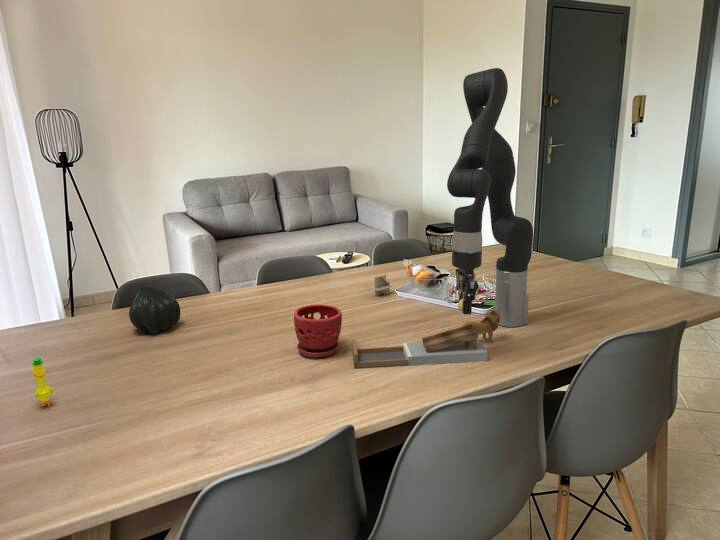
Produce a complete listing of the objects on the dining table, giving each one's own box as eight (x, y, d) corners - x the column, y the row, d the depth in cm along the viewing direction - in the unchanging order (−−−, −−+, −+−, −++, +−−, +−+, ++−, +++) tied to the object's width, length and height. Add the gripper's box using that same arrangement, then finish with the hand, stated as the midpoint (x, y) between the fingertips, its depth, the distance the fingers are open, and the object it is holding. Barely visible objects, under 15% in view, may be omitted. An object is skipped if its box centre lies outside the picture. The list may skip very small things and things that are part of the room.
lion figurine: (492, 334, 160) (493, 305, 158) (504, 340, 156) (505, 310, 153) (451, 344, 154) (451, 314, 152) (462, 351, 149) (463, 320, 147)
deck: (477, 347, 152) (477, 339, 151) (487, 360, 143) (487, 352, 142) (403, 351, 150) (402, 343, 150) (408, 365, 142) (407, 356, 141)
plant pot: (306, 365, 144) (304, 322, 141) (289, 348, 155) (286, 308, 152) (351, 354, 150) (349, 313, 146) (331, 338, 161) (329, 300, 158)
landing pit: (403, 351, 150) (402, 338, 149) (408, 365, 142) (407, 351, 141) (352, 354, 149) (351, 340, 148) (354, 368, 141) (353, 354, 140)
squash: (192, 313, 171) (170, 274, 174) (146, 328, 160) (124, 286, 164) (179, 333, 180) (159, 295, 184) (136, 348, 170) (115, 308, 174)
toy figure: (35, 401, 129) (25, 355, 126) (52, 396, 131) (43, 350, 128) (39, 412, 124) (29, 364, 121) (57, 407, 126) (47, 360, 123)
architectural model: (392, 295, 201) (392, 276, 199) (378, 299, 196) (378, 280, 195) (386, 293, 203) (386, 274, 201) (372, 297, 199) (371, 278, 197)
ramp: (472, 341, 149) (473, 323, 148) (478, 350, 144) (478, 331, 142) (421, 344, 148) (421, 326, 147) (425, 353, 143) (425, 334, 142)
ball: (462, 308, 146) (462, 295, 145) (474, 311, 144) (474, 298, 143) (455, 312, 144) (455, 299, 143) (466, 315, 141) (467, 301, 141)
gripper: (446, 242, 146) (445, 303, 151) (458, 254, 132) (457, 321, 137) (474, 241, 146) (472, 302, 151) (489, 253, 133) (486, 320, 137)
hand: (465, 311), depth 144 cm, fingers closed on ball, 3 cm apart
